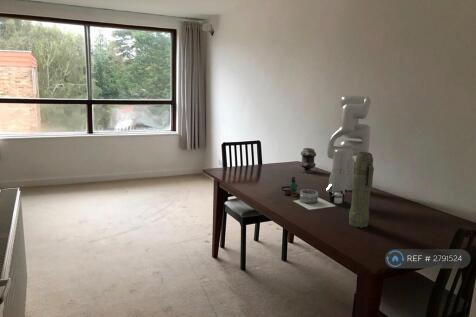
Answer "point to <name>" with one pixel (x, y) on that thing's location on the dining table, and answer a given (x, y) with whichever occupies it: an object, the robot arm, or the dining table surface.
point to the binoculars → (293, 188)
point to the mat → (319, 204)
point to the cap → (338, 198)
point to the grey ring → (308, 196)
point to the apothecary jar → (308, 160)
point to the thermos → (361, 190)
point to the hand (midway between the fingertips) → (336, 201)
